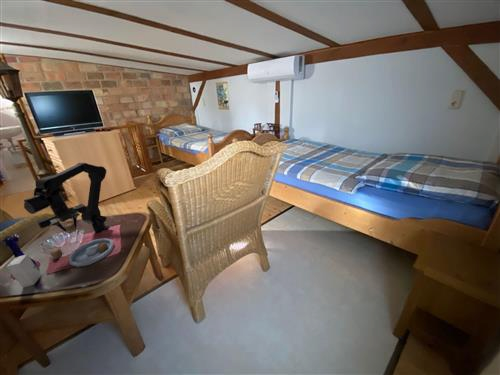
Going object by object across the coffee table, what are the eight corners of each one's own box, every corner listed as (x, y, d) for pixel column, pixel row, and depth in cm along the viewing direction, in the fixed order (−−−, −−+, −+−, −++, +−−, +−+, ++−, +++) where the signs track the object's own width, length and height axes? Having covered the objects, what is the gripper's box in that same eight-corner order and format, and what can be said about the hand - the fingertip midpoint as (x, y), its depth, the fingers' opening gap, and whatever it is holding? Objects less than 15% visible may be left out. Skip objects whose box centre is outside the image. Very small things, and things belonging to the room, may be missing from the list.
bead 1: (56, 254, 106) (53, 249, 105) (65, 252, 107) (62, 247, 105) (51, 260, 103) (47, 254, 101) (60, 258, 103) (57, 252, 102)
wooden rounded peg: (101, 248, 106) (99, 243, 104) (110, 246, 107) (107, 241, 105) (98, 253, 102) (95, 248, 101) (106, 252, 103) (104, 246, 102)
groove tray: (83, 246, 111) (80, 242, 110) (119, 239, 114) (117, 235, 112) (63, 271, 95) (60, 267, 93) (105, 263, 98) (103, 259, 96)
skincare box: (34, 284, 89) (19, 263, 84) (21, 288, 88) (5, 267, 83) (42, 274, 94) (28, 253, 89) (30, 277, 93) (15, 256, 88)
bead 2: (69, 229, 108) (66, 224, 107) (78, 228, 109) (75, 222, 108) (65, 234, 105) (62, 228, 103) (73, 232, 106) (70, 226, 104)
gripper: (34, 216, 89) (51, 245, 95) (84, 198, 102) (96, 225, 108) (29, 209, 95) (46, 237, 102) (77, 193, 108) (89, 218, 115)
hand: (70, 229), depth 107 cm, fingers closed on bead 2, 4 cm apart
